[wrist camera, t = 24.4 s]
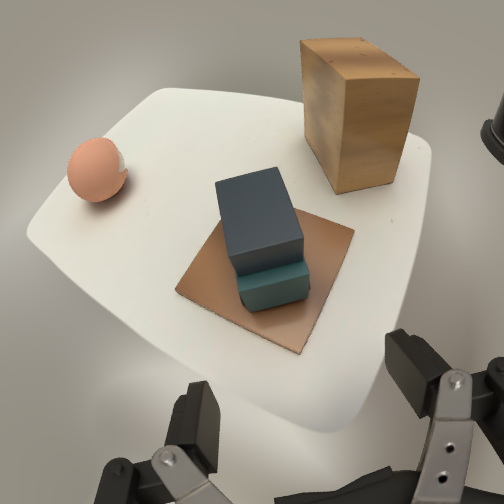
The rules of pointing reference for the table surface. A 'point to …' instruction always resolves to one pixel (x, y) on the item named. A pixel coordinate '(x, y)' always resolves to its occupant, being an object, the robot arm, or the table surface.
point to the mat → (278, 317)
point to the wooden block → (355, 110)
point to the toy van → (263, 239)
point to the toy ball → (96, 170)
